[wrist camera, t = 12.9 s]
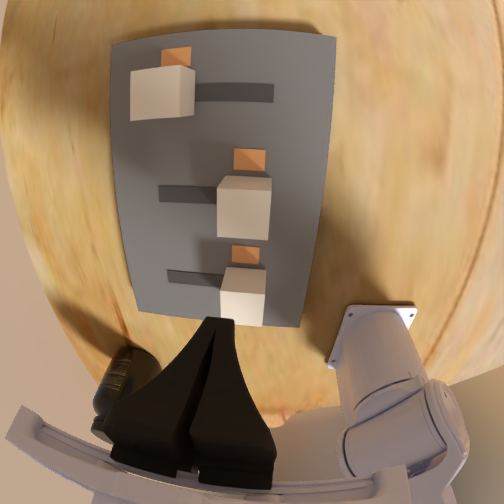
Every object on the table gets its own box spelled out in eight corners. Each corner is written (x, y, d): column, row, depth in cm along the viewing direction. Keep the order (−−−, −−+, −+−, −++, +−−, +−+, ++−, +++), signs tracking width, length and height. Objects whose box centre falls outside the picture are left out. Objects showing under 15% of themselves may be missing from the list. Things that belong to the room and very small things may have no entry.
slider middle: (268, 220, 19) (267, 240, 16) (225, 217, 19) (217, 236, 17) (271, 178, 18) (271, 191, 15) (225, 175, 18) (216, 188, 15)
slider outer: (194, 115, 16) (179, 117, 13) (151, 117, 16) (130, 121, 13) (195, 70, 14) (180, 64, 12) (151, 75, 14) (130, 71, 12)
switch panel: (298, 312, 26) (299, 328, 24) (145, 298, 26) (138, 311, 25) (330, 43, 14) (336, 36, 13) (125, 48, 15) (111, 45, 13)
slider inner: (263, 300, 23) (262, 326, 20) (226, 297, 23) (221, 323, 20) (266, 269, 21) (265, 294, 18) (226, 266, 21) (220, 290, 19)
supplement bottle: (116, 365, 33) (85, 434, 23) (116, 337, 30) (76, 416, 20) (161, 383, 34) (137, 457, 24) (167, 357, 31) (138, 443, 21)
